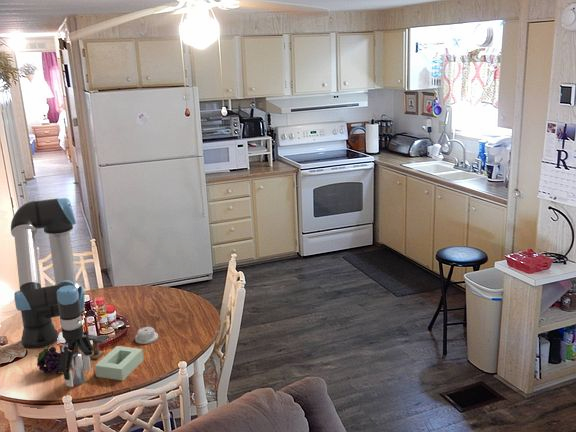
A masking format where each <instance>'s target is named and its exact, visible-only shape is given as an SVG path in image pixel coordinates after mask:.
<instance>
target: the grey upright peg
mask: <svg viewBox="0 0 576 432" xmlns="http://www.w3.org/2000/svg"><path fill="white" fill-rule="evenodd" d="M71 369H72V370H71V371H72V378H73V385H75V386H81V385H83V384H85V383H86V377H85V370H84V363H83V358H82V354H81V352H75V353H74V354H73V358H72V363H71Z"/></svg>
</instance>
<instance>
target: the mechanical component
mask: <svg viewBox="0 0 576 432" xmlns="http://www.w3.org/2000/svg"><path fill="white" fill-rule="evenodd" d="M134 338H135V339H134V340H135V342H136V343H137V344H141V345H147V344H151V343H154V342H156V341H157V340H158V339H159V334H158V333H157V332H156V331H155V328H153V327H152V326H147V327H141V328H139V329H138V330H137V334H136V335H135V337H134Z"/></svg>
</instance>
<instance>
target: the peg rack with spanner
mask: <svg viewBox="0 0 576 432" xmlns="http://www.w3.org/2000/svg"><path fill="white" fill-rule="evenodd" d="M88 338H89V340H90V342H91V341H92V342H91V343H92V347H93V351H91V352H92V355H90V359H91V360H95V361H98V360H99V359H100V358H101V357H103V356H104V354H105V351H102V350H100V348H99V344H104V343H105V342H106V341H107V340H108V339H110V336H109V335H105V334H101V335H94V334H88ZM75 352H81V354H82V355H85V354H84V353H83V352H82V351H81V350H80V349H79V348H77V349H76V350H75ZM82 359H83V356H82Z"/></svg>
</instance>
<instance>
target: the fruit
mask: <svg viewBox="0 0 576 432" xmlns="http://www.w3.org/2000/svg"><path fill="white" fill-rule="evenodd" d="M34 356H35V357H37V360H36V361H37V364H36V365H37V368H38V369H39V371H41V372H42V373H47V372H50V371H51V372H52V373H58V374H61V373H60V372H59V364H60V352H58V351H57V349H56V347H55V346H51V345H49V346H46V347H43V350H42V351H41V352H39V355H34Z"/></svg>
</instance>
